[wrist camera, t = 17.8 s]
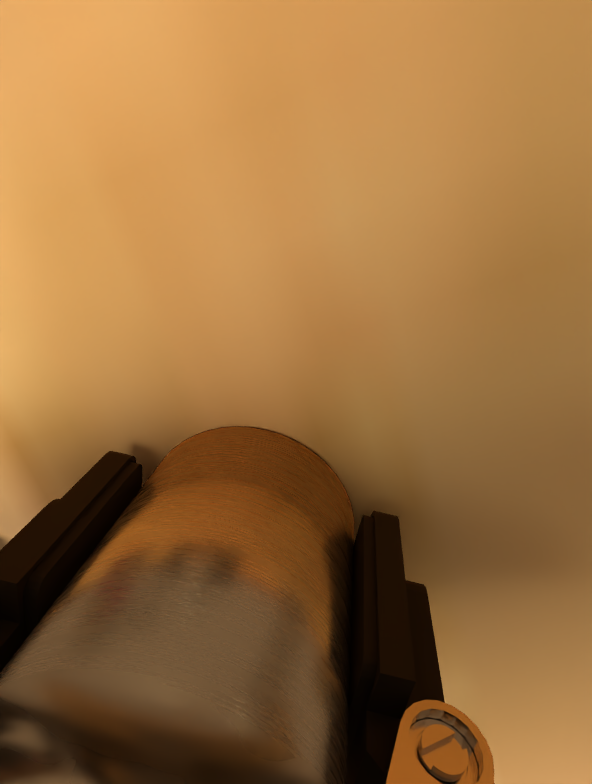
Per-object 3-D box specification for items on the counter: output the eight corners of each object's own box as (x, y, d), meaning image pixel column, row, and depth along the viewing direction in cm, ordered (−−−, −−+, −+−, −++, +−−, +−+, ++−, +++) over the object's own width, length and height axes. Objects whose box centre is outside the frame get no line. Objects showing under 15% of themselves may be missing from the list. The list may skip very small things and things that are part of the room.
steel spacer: (377, 454, 10) (393, 745, 5) (329, 621, 12) (302, 961, 7) (154, 405, 11) (-68, 627, 5) (142, 575, 13) (-29, 869, 7)
